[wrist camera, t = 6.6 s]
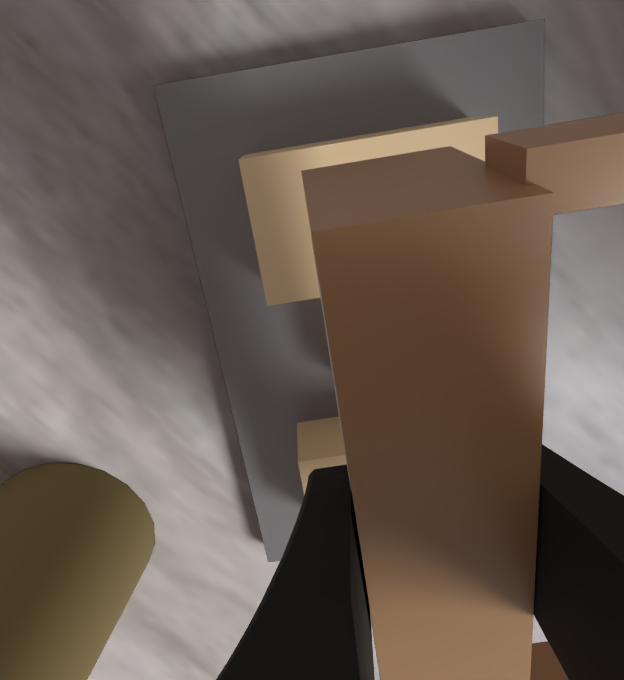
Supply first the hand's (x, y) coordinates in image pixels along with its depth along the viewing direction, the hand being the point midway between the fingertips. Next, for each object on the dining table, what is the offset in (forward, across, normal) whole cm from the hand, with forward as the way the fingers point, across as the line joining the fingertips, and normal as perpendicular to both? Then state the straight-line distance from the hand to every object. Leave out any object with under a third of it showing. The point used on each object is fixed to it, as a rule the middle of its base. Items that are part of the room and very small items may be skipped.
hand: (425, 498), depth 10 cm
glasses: (+2, -1, 0) cm, 3 cm away
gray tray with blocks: (+8, 0, 0) cm, 8 cm away
